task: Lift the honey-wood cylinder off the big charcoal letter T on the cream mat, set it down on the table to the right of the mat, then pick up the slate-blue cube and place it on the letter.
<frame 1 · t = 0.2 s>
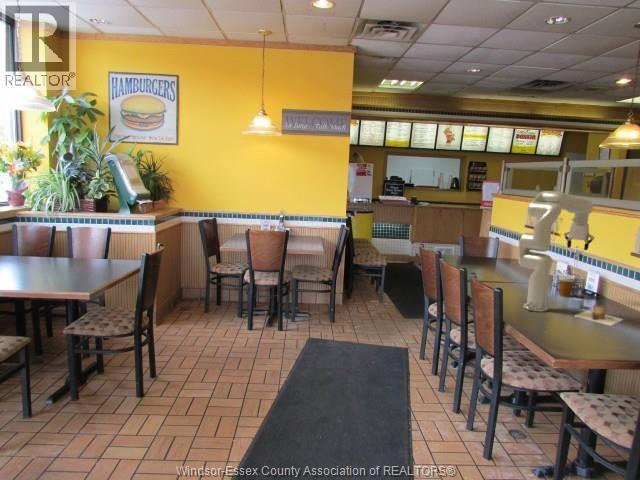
hand: (577, 248, 278), 31 cm above the table, tool pointing down, fingers open, 9 cm apart
letter mat: (598, 318, 241), on the table
disposable coffee cup: (565, 295, 287), on the table
slate cube: (576, 307, 261), on the table
wood cylinder: (598, 317, 241), point 1 cm above the table, touching letter mat
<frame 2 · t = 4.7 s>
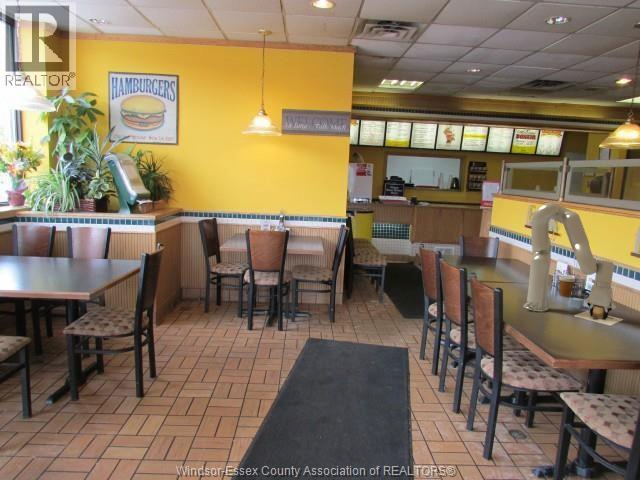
hand: (598, 316, 241), 1 cm above the table, tool pointing down, fingers closed on wood cylinder, 5 cm apart
wood cylinder: (598, 317, 241), point 1 cm above the table, touching gripper, letter mat
everything else where it was.
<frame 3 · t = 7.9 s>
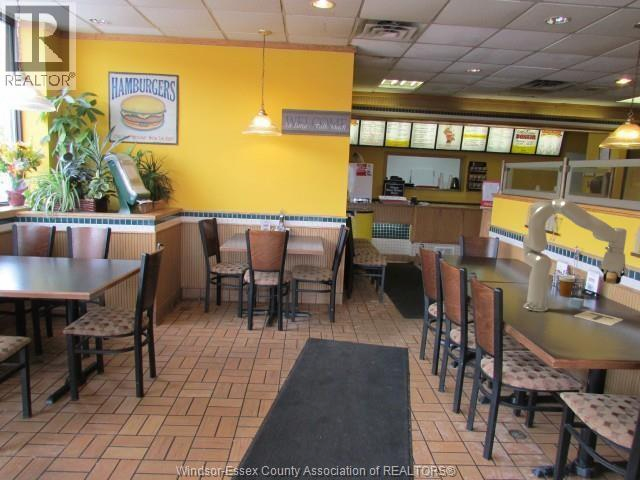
hand: (611, 282, 251), 17 cm above the table, tool pointing down, fingers closed on wood cylinder, 5 cm apart
wood cylinder: (611, 282, 251), point 17 cm above the table, touching gripper
everything else where it was.
when the fingers open (2 cm above the table, at t = 11.2 s): wood cylinder drops 2 cm, on the table.
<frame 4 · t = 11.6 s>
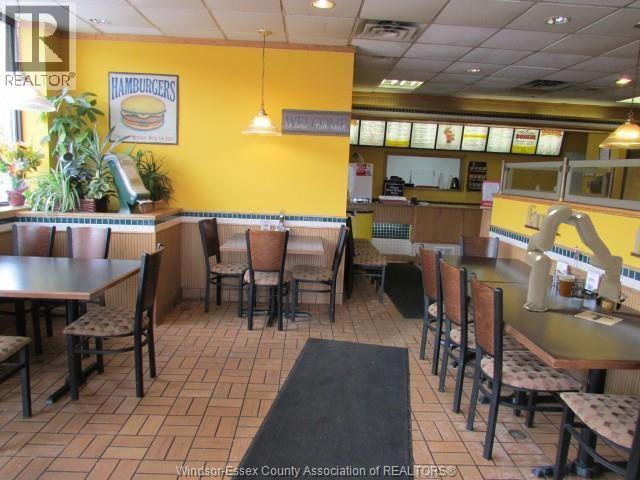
hand: (608, 307, 253), 3 cm above the table, tool pointing down, fingers open, 9 cm apart
wood cylinder: (607, 312, 253), on the table
everything else where it was.
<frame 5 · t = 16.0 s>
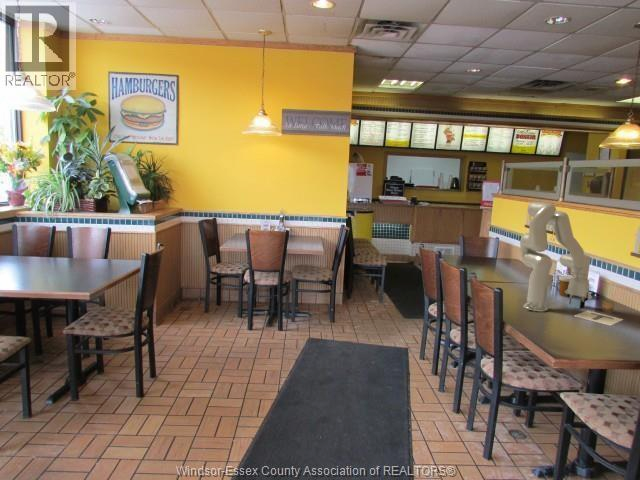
hand: (576, 306, 261), 0 cm above the table, tool pointing down, fingers closed on slate cube, 5 cm apart
slate cube: (576, 307, 261), on the table, touching gripper
everything else where it was.
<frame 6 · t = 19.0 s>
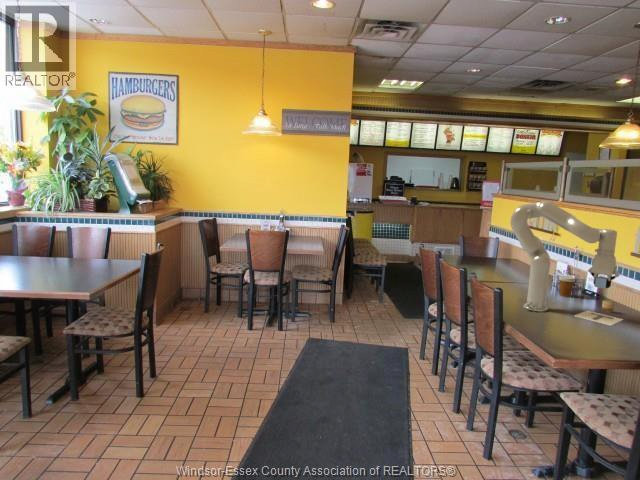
hand: (601, 286, 239), 18 cm above the table, tool pointing down, fingers closed on slate cube, 5 cm apart
slate cube: (601, 287, 239), point 17 cm above the table, touching gripper
everything else where it was.
when the fingers open (2 cm above the table, at t = 22.4 s): slate cube drops 1 cm, resting on letter mat.
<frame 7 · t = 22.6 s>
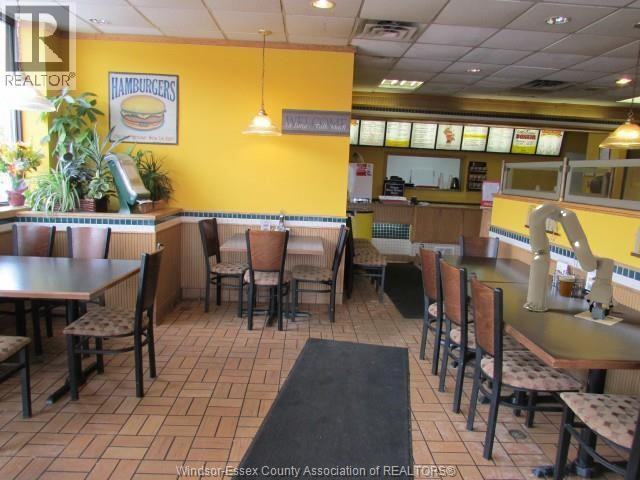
hand: (598, 313, 240), 3 cm above the table, tool pointing down, fingers open, 6 cm apart
slate cube: (598, 317, 241), point 1 cm above the table, touching letter mat
everything else where it was.
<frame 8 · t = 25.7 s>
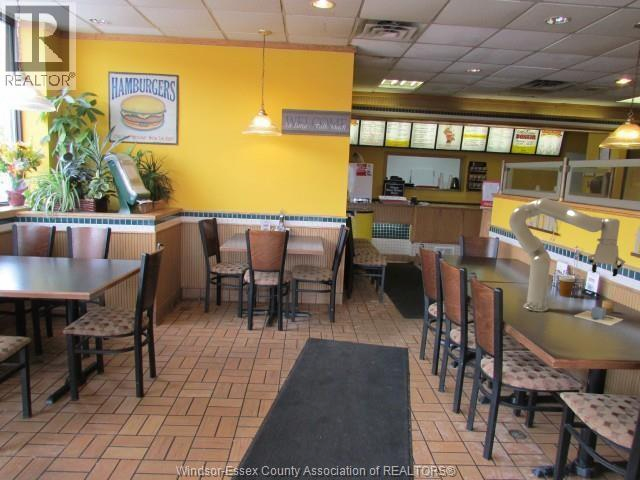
hand: (604, 274, 237), 24 cm above the table, tool pointing down, fingers open, 9 cm apart
nothing on the table moved.
at the end: slate cube 0.1 cm off-centre on the letter mat, point 0.5 cm above the letter mat's base; slate cube tilted 0°; wood cylinder touching table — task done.
